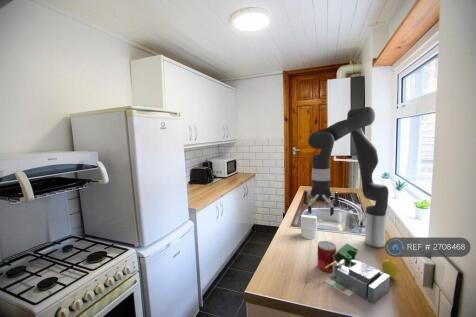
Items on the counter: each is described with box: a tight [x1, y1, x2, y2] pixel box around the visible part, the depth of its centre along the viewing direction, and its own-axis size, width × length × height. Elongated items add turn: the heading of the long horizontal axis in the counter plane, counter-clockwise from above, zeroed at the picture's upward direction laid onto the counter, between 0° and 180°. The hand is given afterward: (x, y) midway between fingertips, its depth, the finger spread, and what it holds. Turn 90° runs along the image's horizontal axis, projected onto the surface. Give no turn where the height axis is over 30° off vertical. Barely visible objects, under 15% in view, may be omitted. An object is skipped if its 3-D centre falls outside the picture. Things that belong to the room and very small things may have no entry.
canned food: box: [317, 240, 337, 273], centre depth 105 cm, size 8×8×11 cm
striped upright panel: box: [323, 277, 355, 297], centre depth 92 cm, size 3×11×1 cm, turn 34°
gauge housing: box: [335, 259, 391, 305], centre depth 92 cm, size 12×14×8 cm
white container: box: [300, 214, 318, 240], centre depth 138 cm, size 9×9×12 cm
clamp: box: [336, 243, 359, 266], centre depth 111 cm, size 12×6×9 cm, turn 126°
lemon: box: [381, 258, 399, 278], centre depth 97 cm, size 6×6×8 cm
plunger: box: [325, 259, 350, 278], centre depth 96 cm, size 14×8×7 cm, turn 124°
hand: (320, 214), depth 102 cm, fingers open, 8 cm apart
